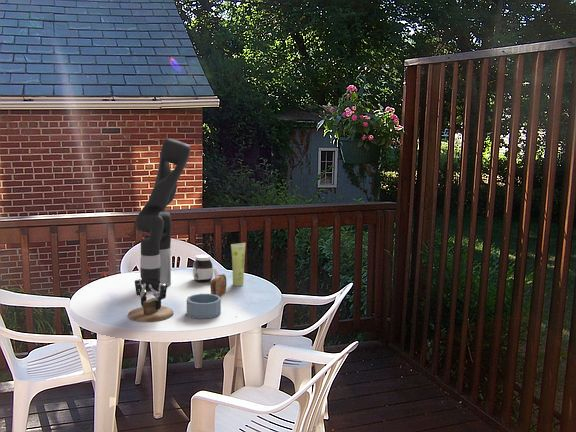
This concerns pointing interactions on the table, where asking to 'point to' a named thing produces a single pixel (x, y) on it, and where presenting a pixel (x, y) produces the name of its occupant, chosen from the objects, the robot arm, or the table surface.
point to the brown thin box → (218, 285)
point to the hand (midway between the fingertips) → (151, 307)
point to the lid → (150, 312)
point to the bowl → (203, 306)
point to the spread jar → (203, 269)
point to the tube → (238, 263)
